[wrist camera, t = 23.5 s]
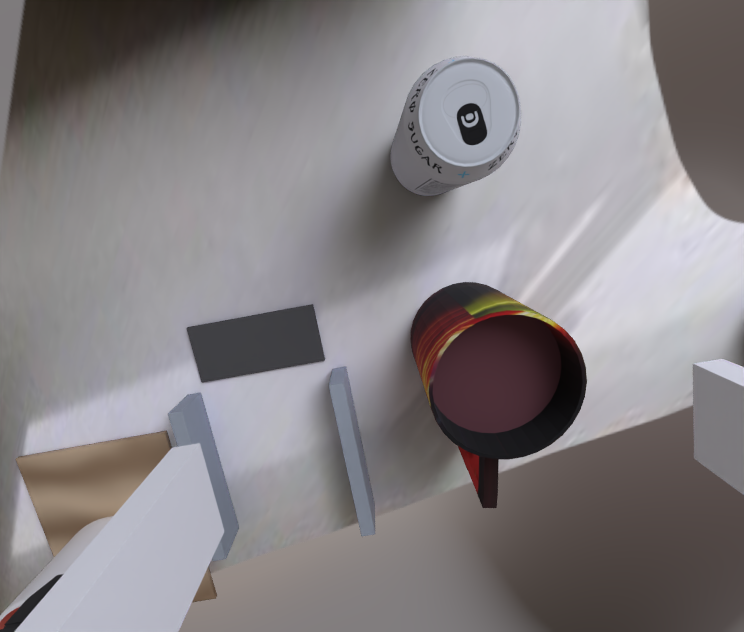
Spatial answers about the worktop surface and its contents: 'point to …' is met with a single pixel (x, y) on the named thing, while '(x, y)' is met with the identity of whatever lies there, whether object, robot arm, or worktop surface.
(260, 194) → the worktop surface
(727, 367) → the robot arm
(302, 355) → the mat
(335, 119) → the worktop surface
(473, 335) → the mug
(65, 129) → the worktop surface
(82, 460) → the plate
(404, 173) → the energy drink can
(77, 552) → the cup
